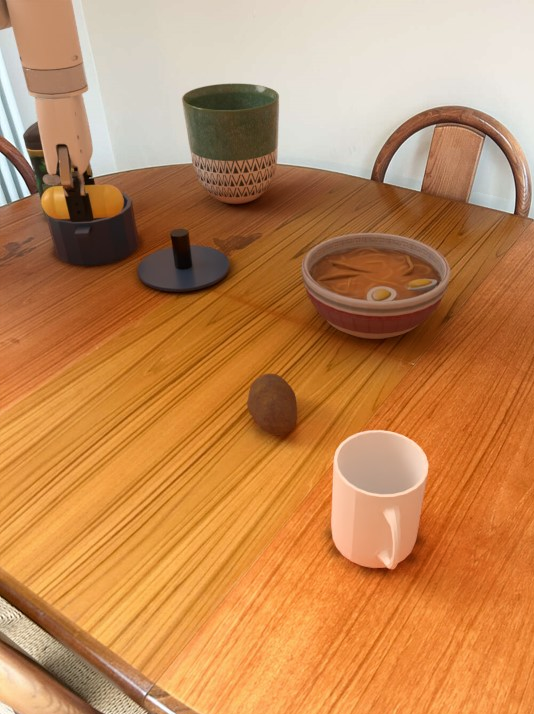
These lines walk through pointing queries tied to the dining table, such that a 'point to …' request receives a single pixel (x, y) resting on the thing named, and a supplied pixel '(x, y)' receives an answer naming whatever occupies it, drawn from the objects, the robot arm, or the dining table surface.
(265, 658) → the dining table surface
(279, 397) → the potato
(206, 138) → the planter
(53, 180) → the coffee jar
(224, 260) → the lid
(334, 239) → the bowl
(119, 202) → the yellow capsule
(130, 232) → the pot
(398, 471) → the mug
